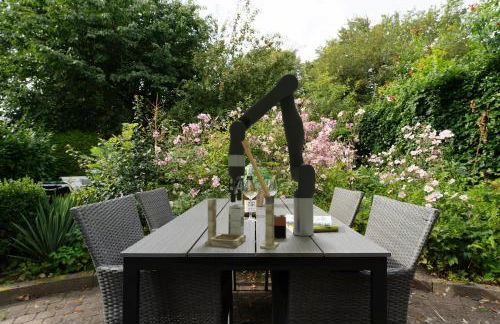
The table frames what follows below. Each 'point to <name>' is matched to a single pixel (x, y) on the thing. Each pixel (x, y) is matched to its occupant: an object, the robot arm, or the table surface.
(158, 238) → the table surface
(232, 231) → the syrup box
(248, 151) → the tan wooden bar
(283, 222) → the battery
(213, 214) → the clamp rig
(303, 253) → the table surface
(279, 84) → the robot arm
